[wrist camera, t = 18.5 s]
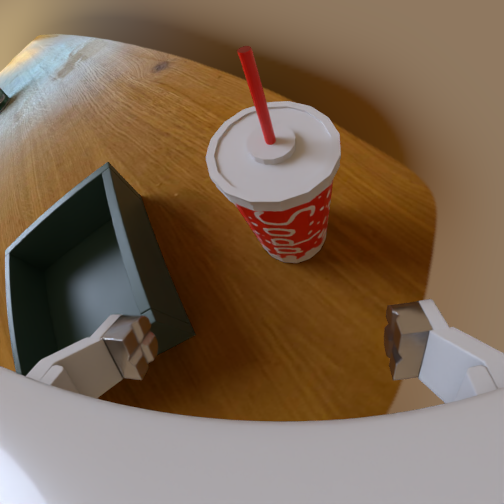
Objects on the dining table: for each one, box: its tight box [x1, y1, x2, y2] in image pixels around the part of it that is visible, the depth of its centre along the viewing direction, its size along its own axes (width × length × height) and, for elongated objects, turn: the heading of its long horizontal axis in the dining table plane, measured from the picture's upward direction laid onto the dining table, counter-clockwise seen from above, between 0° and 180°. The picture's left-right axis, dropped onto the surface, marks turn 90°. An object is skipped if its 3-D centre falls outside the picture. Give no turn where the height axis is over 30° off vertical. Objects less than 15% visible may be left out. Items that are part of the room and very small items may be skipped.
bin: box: [5, 162, 195, 376], centre depth 20 cm, size 14×14×5 cm
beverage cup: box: [206, 46, 341, 263], centre depth 15 cm, size 6×6×14 cm
